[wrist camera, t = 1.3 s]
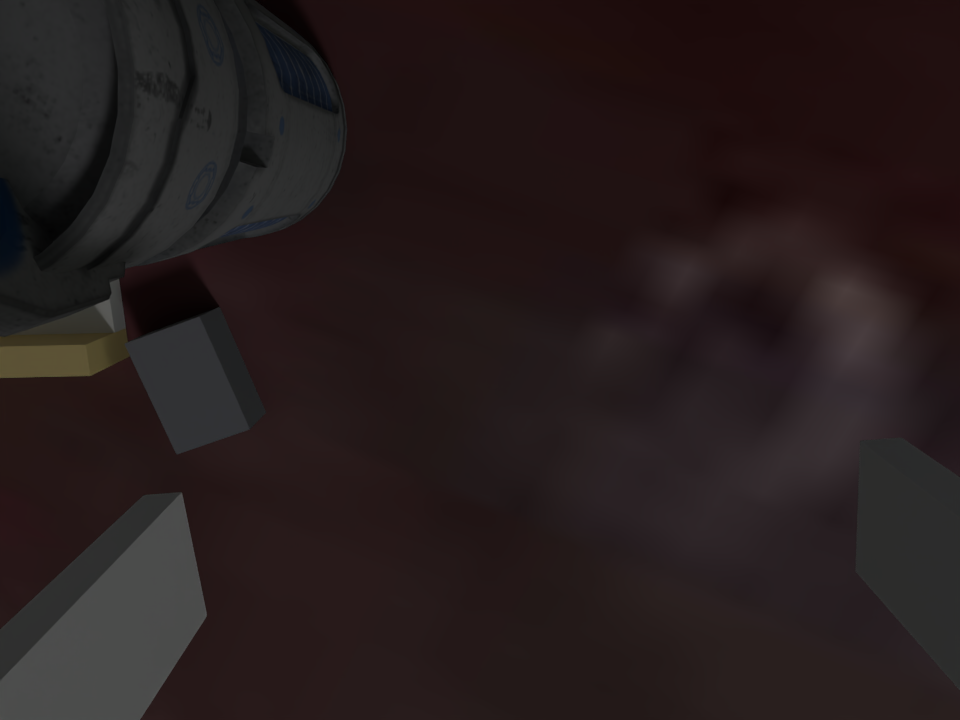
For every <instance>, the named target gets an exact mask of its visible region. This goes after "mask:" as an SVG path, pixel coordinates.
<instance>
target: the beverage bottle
mask: <svg viewBox="0 0 960 720" xmlns="http://www.w3.org/2000/svg"><path fill="white" fill-rule="evenodd" d="M346 134H347V125H346V117H345V108H344V104H343V100H342V97H341V94H340V91H339V88H338V84H337V82H336V81H335V79H334V77H333V75H332V73H331V71H330V69H329V67H328V65H327V64H326V62H325V61H324V60H323V59H322V57H321V56H320V55H319V53H318V52H317V51H316V50H315V48H314V47H313V46H312V45H311V44H310V43H309V42H308V41H306V40H305V39H304V38H303V37H302V36H301V35H299V34H298V33H297V32H296V31H295V30H293V29H292V28H291V27H290V26H288V25H287V24H286V23H284V22H283V21H282V20H280V19H279V18H278V17H276V16H275V15H274V14H272V13H271V12H270V11H268V10H267V9H266V8H264V7H263V6H262V5H260V4H259V3H258V2H257V1H255V0H0V337H6V336H9V335H12V334H15V333H19V332H22V331H25V330H28V329H31V328H34V327H37V326H40V325H43V324H46V323H49V322H52V321H55V320H58V319H61V318H64V317H67V316H70V315H72V314H74V313H77V312H79V311H82V310H84V309H87V308H89V307H91V306H94V305H96V304H99V303H101V302H104V301H106V300H109V298H110V296H111V293H112V292H111V287H110V282H112V281H115V280H117V279H120V278H122V277H124V275H125V269H126V268H129V267H133V266H140V265H147V264H151V263H155V262H159V261H163V260H166V259H170V258H173V257H176V256H180V255H183V254H187V253H190V252H193V251H195V250H197V249H201V248H205V247H209V246H213V245H217V244H221V243H226V242H230V241H234V240H238V239H242V238H249V237H257V236H261V235H265V234H269V233H272V232H275V231H279V230H282V229H285V228H287V227H289V226H291V225H293V224H294V223H296V222H298V221H300V220H302V219H303V218H304V217H305V216H307V215H308V214H309V213H310V212H311V211H313V210H314V209H315V208H316V207H317V206H318V205H319V204H320V203H321V201H322V200H323V199H324V197H325V196H326V195H327V194H328V192H329V191H330V190H331V188H332V186H333V184H334V182H335V180H336V178H337V176H338V174H339V172H340V168H341V165H342V161H343V157H344V153H345V148H346Z"/></svg>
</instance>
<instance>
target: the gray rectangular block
mask: <svg viewBox="0 0 960 720" xmlns="http://www.w3.org/2000/svg"><path fill="white" fill-rule="evenodd" d="M125 347H126V349H127V351H128V353H129V355H130V357H131V359H132V361H133V363H134V366H135V368H136V370H137V372H138V374H139V376H140V378H141V380H142V382H143V384H144V387H145V389H146V391H147V393H148V395H149V397H150V399H151V401H152V403H153V406H154V408H155V410H156V412H157V414H158V416H159V418H160V420H161V422H162V425H163V427H164V429H165V431H166V433H167V435H168V437H169V439H170V441H171V444H172V446H173V448H174V450H175V452H176V454H179V453H182V452H185V451H188V450H191V449H194V448H197V447H200V446H203V445H206V444H208V443H211V442H214V441H217V440H220V439H223V438H226V437H229V436H232V435H234V434H237V433H240V432H243V431H246V430H249V429H251V427H252V426H253V425H254V424H255V423H256V422H257V421H258V420H259V419H260V418H261V417H262V416H263V415H264V414H265V413H266V411H265V409H264V407H263V404H262V402H261V400H260V398H259V395H258V393H257V391H256V389H255V386H254V384H253V382H252V379H251V377H250V375H249V373H248V370H247V368H246V366H245V364H244V361H243V359H242V357H241V354H240V352H239V350H238V348H237V345H236V343H235V341H234V339H233V336H232V334H231V332H230V329H229V327H228V325H227V323H226V320H225V318H224V316H223V314H222V311H221V309H220V307H218V308H215V309H213V310H210V311H207V312H204V313H202V314H199V315H196V316H193V317H191V318H188V319H185V320H182V321H180V322H177V323H174V324H171V325H168V326H166V327H163V328H160V329H157V330H155V331H152V332H149V333H147V334H145V335H143V336H140V337H138V338H136V339H134V340H131V341H129V342H127V343H125Z"/></svg>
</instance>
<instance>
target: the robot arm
mask: <svg viewBox="0 0 960 720" xmlns="http://www.w3.org/2000/svg"><path fill="white" fill-rule="evenodd" d="M856 572H857V574H858V575H859V576H860V577H861V578H862V579H863V580H864V582H865V583H866V584H867V585H868V586H869V587H870V588H871V590H872V591H873V592H874V593H875V594H876V595H877V596H878V598H879V599H880V600H881V601H882V602H883V603H884V604H885V606H886V607H887V608H888V609H889V610H890V611H891V612H892V614H893V615H894V616H895V617H896V618H897V619H898V620H899V622H900V623H901V624H902V625H903V626H904V627H905V628H906V629H907V631H908V632H909V633H910V634H911V635H912V636H913V637H914V639H915V640H916V641H917V642H918V643H919V644H920V645H921V647H922V648H923V649H924V650H925V651H926V652H927V653H928V655H929V656H930V657H931V658H932V659H933V660H934V661H935V663H936V664H937V665H938V666H939V667H940V668H941V669H942V671H943V672H944V673H945V674H946V675H947V676H948V677H949V679H950V680H951V681H952V682H953V683H954V684H955V685H956V687H957V688H958V689H959V690H960V477H959V476H957V475H956V474H954V473H953V472H951V471H950V470H948V469H947V468H945V467H944V466H942V465H941V464H939V463H938V462H937V461H935V460H934V459H932V458H931V457H929V456H928V455H926V454H925V453H923V452H922V451H920V450H919V449H917V448H916V447H914V446H913V445H911V444H910V443H909V442H907V441H906V440H904V439H903V438H891V439H878V440H865V441H860V460H859V488H858V516H857V544H856ZM206 616H207V613H206V608H205V603H204V599H203V594H202V589H201V584H200V579H199V574H198V569H197V564H196V559H195V554H194V549H193V545H192V540H191V535H190V530H189V525H188V520H187V515H186V510H185V505H184V500H183V496H182V492H179V493H166V494H153V495H144V496H142V497H141V498H140V499H139V500H138V501H137V502H136V503H135V504H134V505H133V506H132V507H131V508H130V509H129V510H128V511H126V512H125V513H124V514H123V515H122V516H121V517H120V518H119V519H118V520H117V521H116V522H115V523H114V524H113V525H111V526H110V527H109V528H108V529H107V530H106V531H105V532H104V533H103V534H102V535H101V536H100V537H99V538H98V539H96V540H95V541H94V542H93V543H92V544H91V545H90V546H89V547H88V548H87V549H86V550H85V551H84V552H83V553H82V554H80V555H79V556H78V557H77V558H76V559H75V560H74V561H73V562H72V563H71V564H70V565H69V566H68V567H67V568H65V569H64V570H63V571H62V572H61V573H60V574H59V575H58V576H57V577H56V578H55V579H54V580H53V581H52V582H51V583H49V584H48V585H47V586H46V587H45V588H44V589H43V590H42V591H41V592H40V593H39V594H38V595H37V596H36V597H34V598H33V599H32V600H31V601H30V602H29V603H28V604H27V605H26V606H25V607H24V608H23V609H22V610H21V611H20V612H18V613H17V614H16V615H15V616H14V617H13V618H12V619H11V620H10V621H9V622H8V623H7V624H6V625H5V626H3V627H2V628H1V629H0V720H140V719H141V717H142V716H143V714H144V713H145V711H146V709H147V708H148V706H149V705H150V703H151V702H152V700H153V699H154V697H155V695H156V694H157V692H158V691H159V689H160V688H161V686H162V685H163V683H164V682H165V680H166V678H167V677H168V675H169V674H170V672H171V671H172V669H173V668H174V666H175V664H176V663H177V661H178V660H179V658H180V657H181V655H182V654H183V652H184V651H185V649H186V647H187V646H188V644H189V643H190V641H191V640H192V638H193V637H194V635H195V633H196V632H197V630H198V629H199V627H200V626H201V624H202V623H203V621H204V619H205V618H206Z"/></svg>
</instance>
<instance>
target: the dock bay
mask: <svg viewBox="0 0 960 720" xmlns="http://www.w3.org/2000/svg"><path fill="white" fill-rule="evenodd" d="M110 287H111V292H112V293H111V296H110V298H109V300H106V301H104V302H101V303H99V304H96V305H94V306H91V307H89V308H87V309H84V310H82V311H79V312H77V313H74V314H72V315H70V316H67V317H64V318H61V319H58V320H55V321H52V322H49V323H46V324H43V325H40V326H37V327H34V328H31V329H28V330H25V331H22V332H19V333H15V334H12V335H9V336H6V337H0V378H16V377H60V376H91V375H93V374H95V373H97V372H99V371H101V370H103V369H105V368H107V367H109V366H111V365H113V364H115V363H117V362H119V361H121V360H123V359H125V358H127V357H129V356H130V355H129V353H128V351H127V349H126V347H125V343H127V342H128V340H127V333H126V326H125V318H124V311H123V304H122V297H121V289H120V282H119V279H117V280H115V281H112V282H110Z"/></svg>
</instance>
